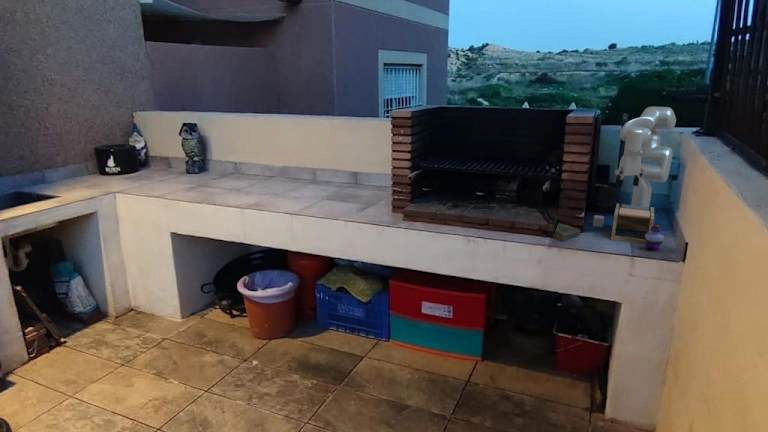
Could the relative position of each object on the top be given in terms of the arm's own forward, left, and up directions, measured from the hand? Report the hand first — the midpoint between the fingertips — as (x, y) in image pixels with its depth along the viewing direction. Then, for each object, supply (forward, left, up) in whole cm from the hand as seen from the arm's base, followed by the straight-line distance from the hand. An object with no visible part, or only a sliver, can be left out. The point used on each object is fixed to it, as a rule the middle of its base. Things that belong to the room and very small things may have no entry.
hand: (627, 186), depth 259 cm
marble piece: (+17, -28, -26) cm, 42 cm away
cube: (-10, -12, -26) cm, 30 cm away
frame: (+1, +5, -26) cm, 26 cm away
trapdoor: (+1, +5, -16) cm, 17 cm away
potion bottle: (+19, +15, -26) cm, 35 cm away
